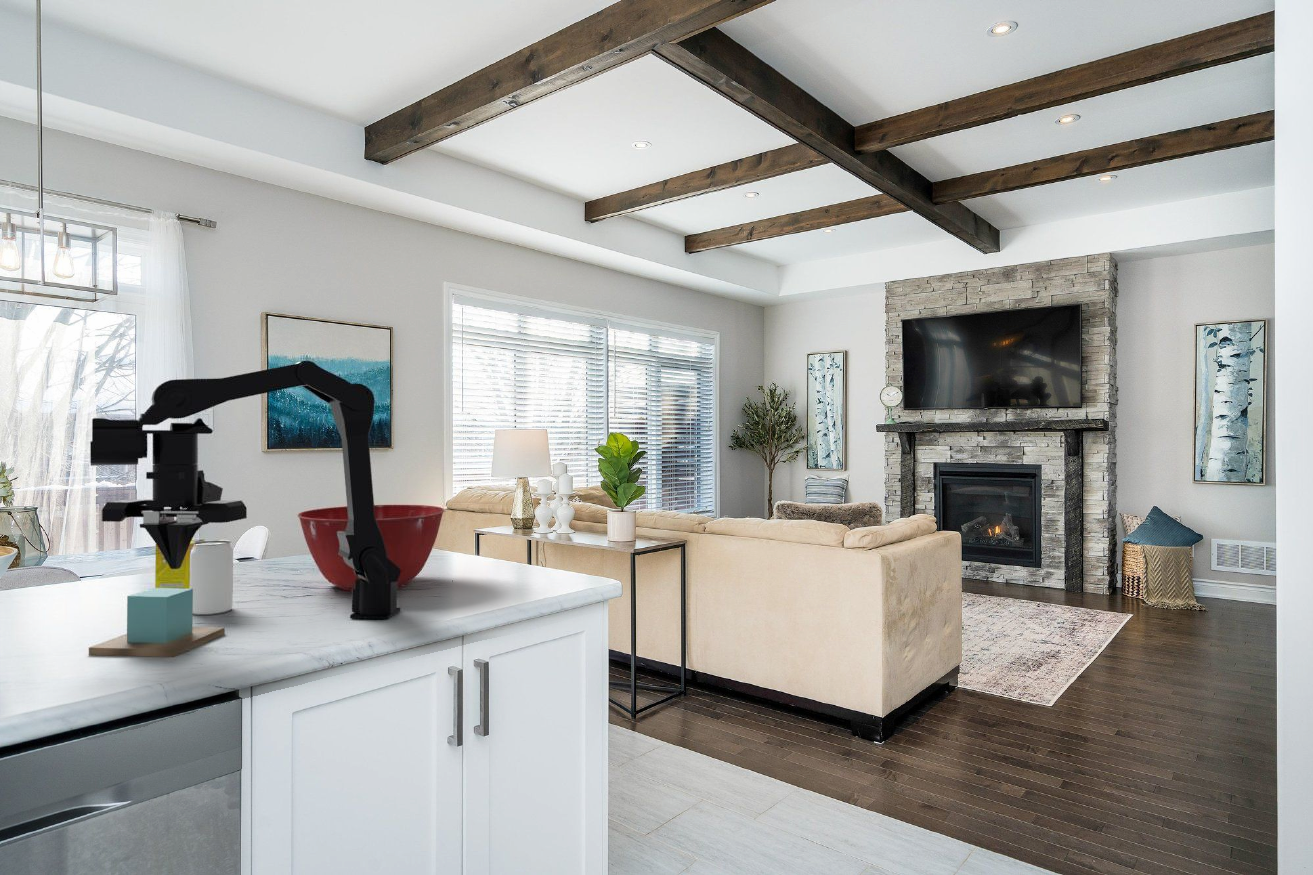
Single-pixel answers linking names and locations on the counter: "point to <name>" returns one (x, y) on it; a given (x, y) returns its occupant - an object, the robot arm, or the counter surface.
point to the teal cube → (159, 615)
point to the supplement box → (173, 570)
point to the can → (211, 577)
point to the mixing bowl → (400, 526)
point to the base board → (157, 644)
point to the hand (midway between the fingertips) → (175, 568)
